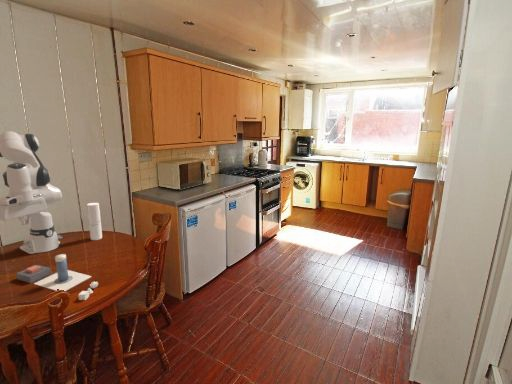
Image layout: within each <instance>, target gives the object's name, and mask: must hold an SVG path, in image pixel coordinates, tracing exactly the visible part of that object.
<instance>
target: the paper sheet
mask: <svg viewBox="0 0 512 384" xmlns="http://www.w3.org/2000/svg"><path fill="white" fill-rule="evenodd" d="M68 277H69V279H68V280H67V281H64V282H59V281H58V275H57V272H55V273H53V274H50V275H48V276H46V277H43V278H41V279H39V280H37V282H36V281H35V282H33V285H36V286H38V287H42V288H46V289H48V290H51V291H52V290H53V291H55V292H58V291H57V289H59V290H64V291H65V292H66V291H68V290H71V289H73V288H74V287H76V286H78V285H79V284H81V283H84V282H85V281H87V280H89V279H91V278H92V276H91V275H89V274H85V273H80V272H77V271H75V270H70V269H68Z"/></svg>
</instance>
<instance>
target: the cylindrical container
mask: <svg viewBox="0 0 512 384" xmlns="http://www.w3.org/2000/svg"><path fill="white" fill-rule="evenodd" d="M86 208H87V216H88V218H87V219H88V226H89V237H90V240H91V241H98V240H101V239H102V238H103V231H102V220H101V219H102V218H101V211H100V210H101V209H100V203H99V202H89V203H87V204H86Z"/></svg>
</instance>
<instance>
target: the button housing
mask: <svg viewBox="0 0 512 384" xmlns="http://www.w3.org/2000/svg"><path fill="white" fill-rule="evenodd" d="M35 265H36V266H40V267H41V270H39V271H37V272H34V273H32V274H31V273H28V272H26V269H27V268H26V269H22V270H21V271H18V272H16V279H17V280H19V281H22V282H25V283H29V284H34V283H36V281H37V282H38V281H40V280H42V279H44V278H47V277H49V276H51V275H52V271H51V268H50V267H48V266H45V265H44V266H43V265H40V264H35Z"/></svg>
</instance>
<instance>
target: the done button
mask: <svg viewBox="0 0 512 384" xmlns="http://www.w3.org/2000/svg"><path fill="white" fill-rule="evenodd" d="M36 265H37V264H34V265H32V266H29V267H27V268H26V272H28V273H31V274H32V273H34V272H37V271H39V270H41V267H40V266H36Z"/></svg>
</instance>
